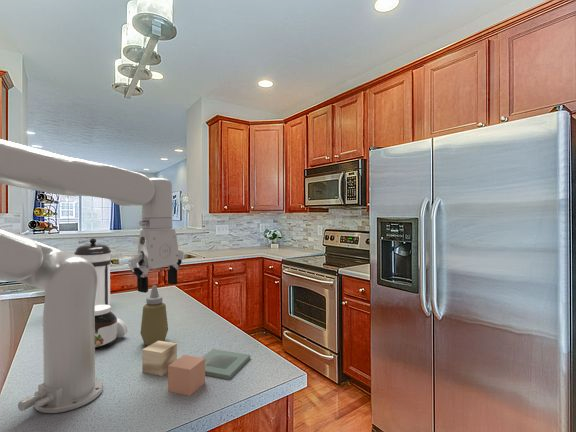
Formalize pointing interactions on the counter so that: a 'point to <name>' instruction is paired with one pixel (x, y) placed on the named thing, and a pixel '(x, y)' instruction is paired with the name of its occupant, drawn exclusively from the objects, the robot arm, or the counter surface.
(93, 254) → the coffee press
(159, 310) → the squeeze bottle
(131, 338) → the counter surface
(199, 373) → the terracotta block
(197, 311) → the counter surface
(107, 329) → the spread jar
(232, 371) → the plate
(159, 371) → the maple block
